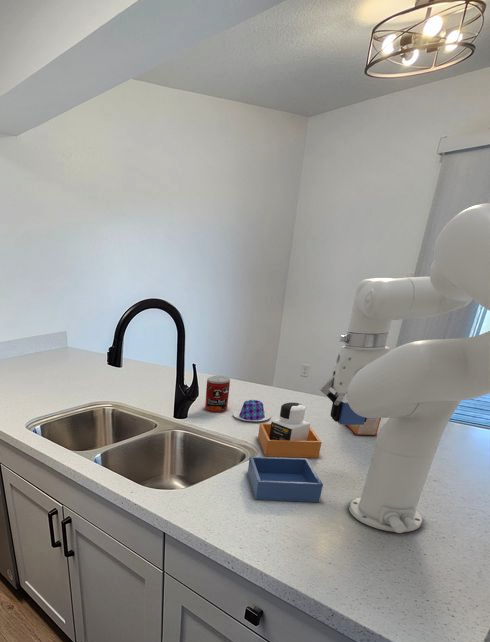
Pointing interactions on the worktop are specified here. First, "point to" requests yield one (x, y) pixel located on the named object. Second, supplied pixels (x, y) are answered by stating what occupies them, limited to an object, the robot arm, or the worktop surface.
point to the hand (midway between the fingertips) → (348, 419)
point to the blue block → (349, 415)
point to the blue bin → (284, 479)
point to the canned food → (217, 393)
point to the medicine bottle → (290, 424)
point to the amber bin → (289, 444)
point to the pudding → (252, 411)
